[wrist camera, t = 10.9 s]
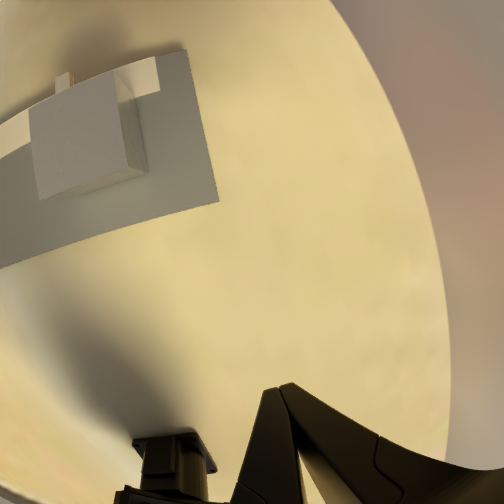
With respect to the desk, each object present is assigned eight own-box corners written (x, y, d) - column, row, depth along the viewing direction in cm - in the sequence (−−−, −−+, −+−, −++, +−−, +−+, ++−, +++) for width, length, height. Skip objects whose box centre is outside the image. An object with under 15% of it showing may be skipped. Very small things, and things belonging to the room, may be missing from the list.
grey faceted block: (149, 173, 15) (128, 167, 11) (77, 197, 15) (39, 200, 11) (130, 62, 14) (109, 28, 9) (62, 89, 13) (28, 67, 9)
